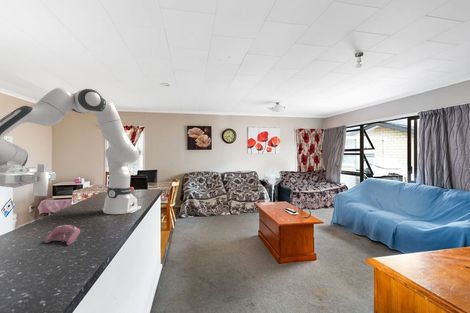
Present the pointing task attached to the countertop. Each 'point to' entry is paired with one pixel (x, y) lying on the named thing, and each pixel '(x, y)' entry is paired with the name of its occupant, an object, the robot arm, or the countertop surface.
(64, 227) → the video game controller
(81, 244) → the countertop surface
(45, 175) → the white bottle
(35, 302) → the countertop surface
